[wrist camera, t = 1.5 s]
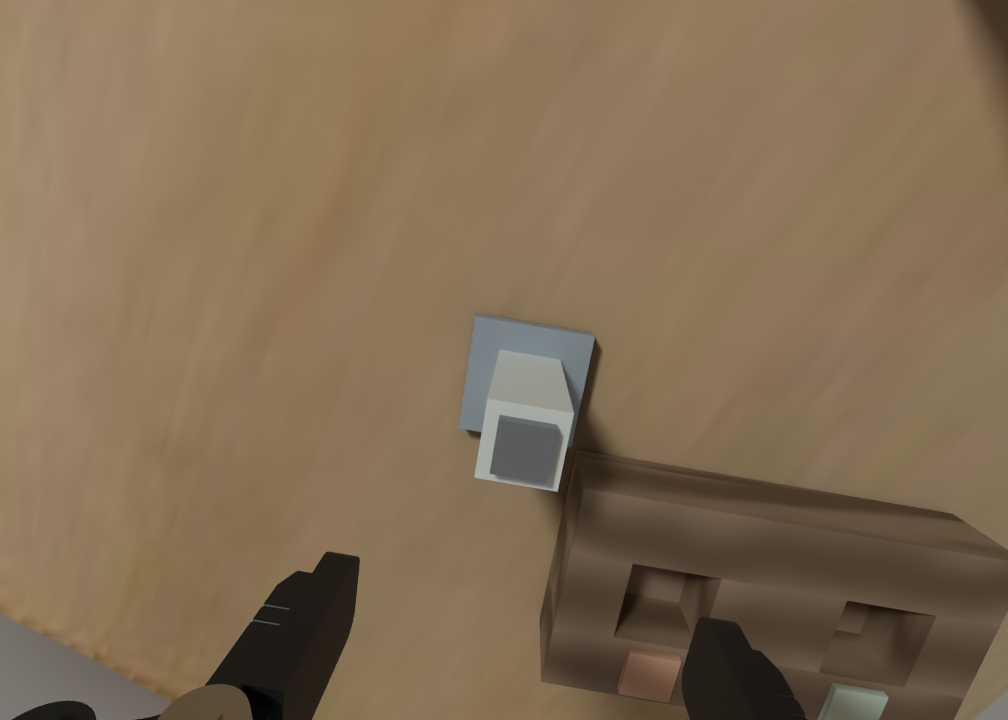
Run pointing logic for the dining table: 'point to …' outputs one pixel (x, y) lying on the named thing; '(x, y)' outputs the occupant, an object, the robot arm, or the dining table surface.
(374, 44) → the dining table surface
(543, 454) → the plug
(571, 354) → the thin square blue plate
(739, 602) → the socket block
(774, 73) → the dining table surface
